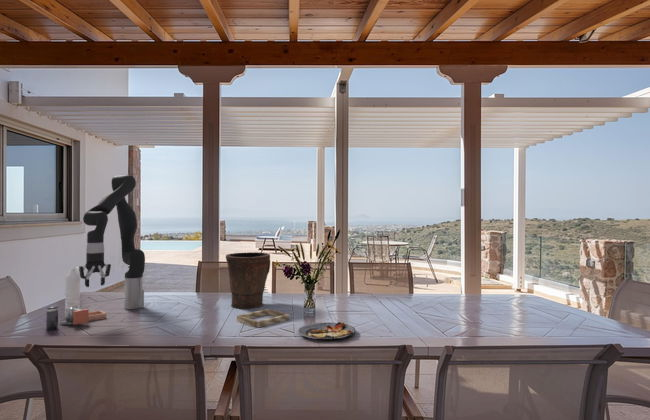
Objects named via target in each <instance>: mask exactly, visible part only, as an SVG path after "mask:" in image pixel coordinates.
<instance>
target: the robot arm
mask: <svg viewBox="0 0 650 420" xmlns="http://www.w3.org/2000/svg"><path fill="white" fill-rule="evenodd" d="M136 182H137V181H136V179H135V177H134V175H130V174H123V175H115V176H112V178H111V189H112V191H111V192H109V193H108V194H106V195H105V196H104V197H102V199H101V200H100V201H99V202H98V203H97V204H96V205H95V206H93V207H91V208H90V209H88V210H87V211H85V213H84V215H83V217H82V221H83V223H84V224H85V225H87V226H92V227H93V226H94V227H95V228H94V230H89V231H88V232H87V234H86V236H87V238H86V248H85V249H86V255H85V256H86V258H85V259H86V262H85V264H84V265H78V267H79V269H78V270H79V271H78V272H79V275H80V279H83V280H84V286H85V287H86V288H89V287H90V277H91V275H92V274H93V273H99V276H100V286H104V285H105V284H106V278H107V277H109V276H110V273H111V269H112V268H111V267H112V265H111V263H110V264H109V263H105V244H104V238H105V231H106V227H107V225H108V221H109V219H108V218H109V217H108V215H109V214H110V213H111V212H112V211H113V210H114V208H115V207H116V211H117V212H116V213H117V222H118V227H119V234H120V241H121V259H122V261H123V263H124V264H126V265H127V266H129V267H128V270H127V271H126V272H125V273H124V300H123V301H124V305H123V306H124V309H125V310H136V309H141V308H143V307H144V306H145V291H144V289H143V287H144V286H143V285H144V284H143V283H144V282H143V281H144V279H143V277H144V271H145V267H146V256H145V252H144V251H143V250H142V249H139V248H137V249H136V246H135V234H136V233H137V229H138V220H137V213H136V212H135V210H134V209H133V207H131V206H130V204H129V203H128V202H127V199H126V196H128V195H129V194H130V193H131V192H133V191H134V190H135V188H136V185H137V183H136ZM104 268H105V272H104V270H103V269H104ZM85 269H86V270H87V271H86V274H85Z"/></svg>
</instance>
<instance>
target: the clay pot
mask: <svg viewBox="0 0 650 420" xmlns="http://www.w3.org/2000/svg"><path fill="white" fill-rule="evenodd" d="M225 260H226V262H227V264H226V265H227V268H228V278H229V287H230V293H231V304H230V306H231V308H233V309H238V310H251V309H252V310H253V309H258V308H261V307H263V306H264V303H263V302H264V301H263V298H264V291H265V287H266V282H267V279H268V275H269V273H270V268H271V255H270V253H268V252H262V251H261V252H253V251H252V252H250V251H249V252H235V253H228V254H226V255H225Z"/></svg>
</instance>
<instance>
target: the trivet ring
mask: <svg viewBox="0 0 650 420" xmlns="http://www.w3.org/2000/svg"><path fill="white" fill-rule="evenodd" d="M267 315H268V316H272V317H270V318H265V319H261V320H256V318H259V317H263V316H267ZM254 318H255V319H254ZM289 320H290V314H289V313H287V312H283V311H279V310H274V309H272V308H271V309H268V308H265V309H262V310H257V311H251V312H248V313H243V314H238V315H236V321H237V322H238V323H240V324H243V325H247V326H250V327H253V328H262V327H266V326H270V325H274V324H277V323H281V322H286V321H289Z"/></svg>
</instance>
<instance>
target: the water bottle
mask: <svg viewBox="0 0 650 420" xmlns="http://www.w3.org/2000/svg"><path fill="white" fill-rule="evenodd" d="M77 269H78V270H79V266H76V267H70V269H69V272H68V273H67V274H66V276H65V291H64V292H65V293H64V294H65V295H64V296H65V298H64V300H65V301H64V302H65V304H64V307H65V308H64V318H66V308H68V307H78V309H81V296H80V295H81V278H80V273H78V271H77Z"/></svg>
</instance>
